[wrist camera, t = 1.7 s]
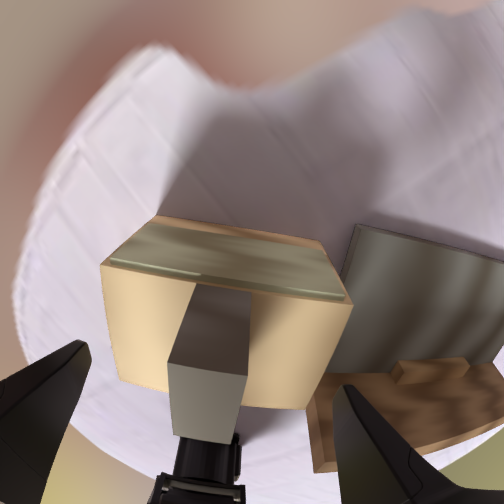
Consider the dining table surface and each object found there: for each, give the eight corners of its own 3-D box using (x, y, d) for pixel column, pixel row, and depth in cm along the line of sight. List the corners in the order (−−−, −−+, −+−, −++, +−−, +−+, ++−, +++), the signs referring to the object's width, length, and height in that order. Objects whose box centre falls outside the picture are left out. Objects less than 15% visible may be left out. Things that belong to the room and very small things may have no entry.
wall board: (299, 382, 21) (311, 475, 13) (355, 223, 16) (434, 305, 8) (477, 372, 22) (508, 422, 14) (533, 271, 17) (582, 313, 9)
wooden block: (155, 309, 19) (93, 437, 9) (156, 210, 16) (39, 315, 6) (292, 330, 19) (312, 473, 9) (320, 236, 16) (394, 374, 6)
